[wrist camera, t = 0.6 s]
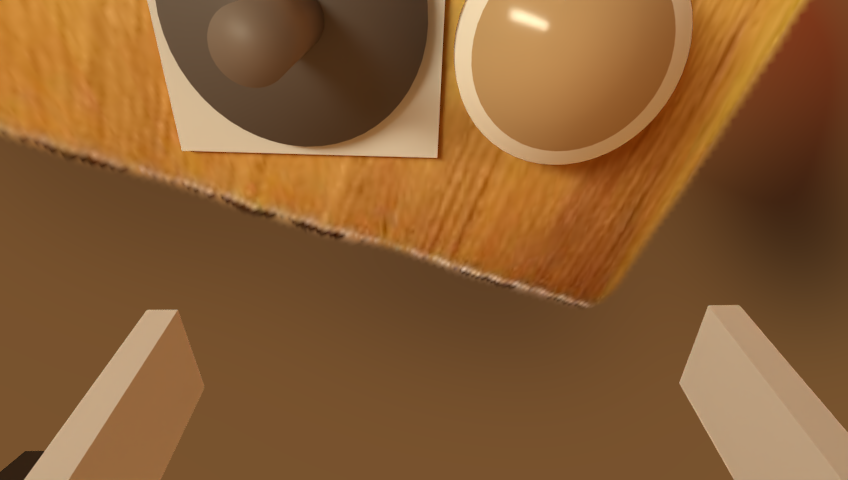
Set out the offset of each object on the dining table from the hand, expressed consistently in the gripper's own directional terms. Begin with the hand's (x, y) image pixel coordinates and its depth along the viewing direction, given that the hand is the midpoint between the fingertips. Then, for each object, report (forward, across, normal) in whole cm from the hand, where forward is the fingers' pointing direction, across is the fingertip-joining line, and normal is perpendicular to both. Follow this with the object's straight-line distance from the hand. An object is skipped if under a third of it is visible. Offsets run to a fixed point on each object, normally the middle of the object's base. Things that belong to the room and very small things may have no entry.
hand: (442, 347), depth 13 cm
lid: (+24, -8, +5) cm, 26 cm away
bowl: (+24, +8, +3) cm, 26 cm away
